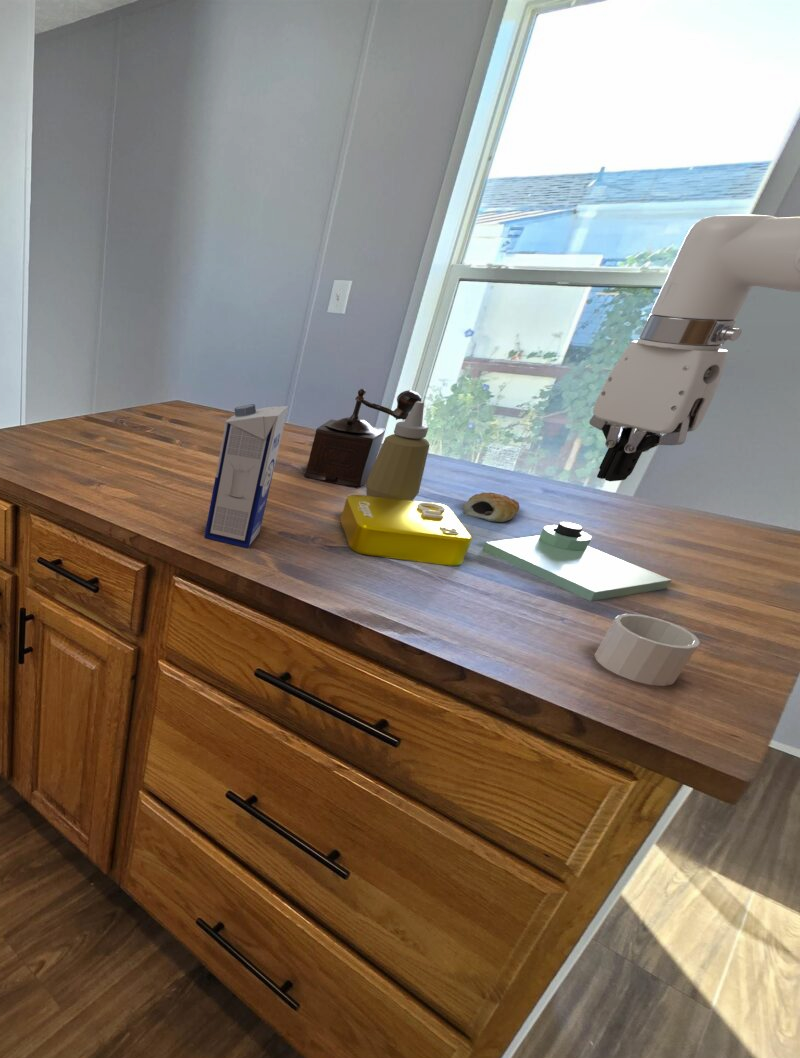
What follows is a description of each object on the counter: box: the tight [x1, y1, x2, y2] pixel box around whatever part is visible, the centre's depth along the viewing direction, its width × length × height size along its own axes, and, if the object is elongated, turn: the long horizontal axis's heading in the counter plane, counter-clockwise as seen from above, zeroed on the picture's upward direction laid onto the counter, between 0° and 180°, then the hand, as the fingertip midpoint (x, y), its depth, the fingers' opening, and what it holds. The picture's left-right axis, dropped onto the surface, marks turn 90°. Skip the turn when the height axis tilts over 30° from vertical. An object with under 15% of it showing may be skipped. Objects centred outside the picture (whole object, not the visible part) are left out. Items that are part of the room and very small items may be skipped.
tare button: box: [555, 521, 583, 538], centre depth 97 cm, size 3×3×2 cm
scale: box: [481, 524, 673, 602], centre depth 93 cm, size 16×14×3 cm
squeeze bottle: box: [365, 401, 430, 501], centre depth 109 cm, size 8×8×18 cm
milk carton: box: [204, 403, 289, 549], centre depth 97 cm, size 7×7×20 cm
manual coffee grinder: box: [304, 388, 422, 488], centre depth 122 cm, size 16×11×18 cm
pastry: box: [461, 491, 520, 523], centre depth 110 cm, size 9×7×4 cm
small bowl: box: [594, 613, 701, 687], centre depth 70 cm, size 7×7×6 cm
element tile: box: [340, 494, 473, 567], centre depth 100 cm, size 15×15×5 cm
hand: (611, 478), depth 88 cm, fingers closed
